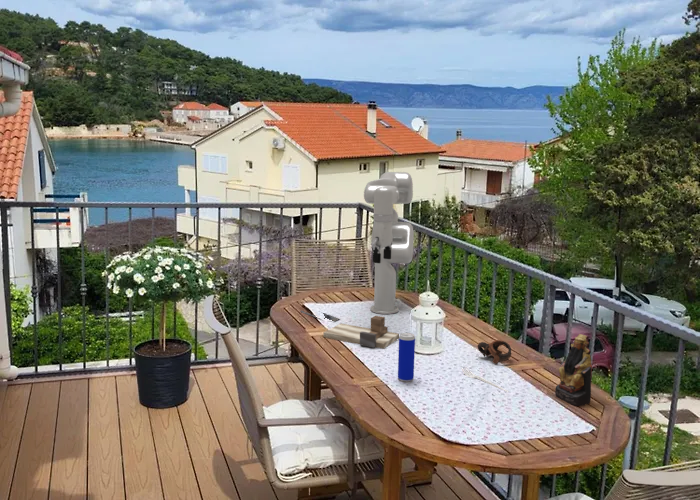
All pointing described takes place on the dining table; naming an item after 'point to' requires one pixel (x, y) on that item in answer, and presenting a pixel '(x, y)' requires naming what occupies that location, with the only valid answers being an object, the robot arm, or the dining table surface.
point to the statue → (576, 374)
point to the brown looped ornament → (495, 350)
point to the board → (358, 335)
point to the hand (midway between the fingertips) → (382, 260)
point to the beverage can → (406, 357)
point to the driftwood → (324, 315)
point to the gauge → (373, 332)
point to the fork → (480, 378)
